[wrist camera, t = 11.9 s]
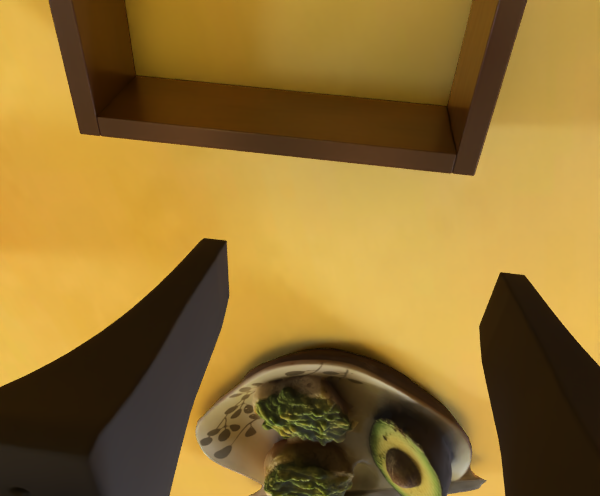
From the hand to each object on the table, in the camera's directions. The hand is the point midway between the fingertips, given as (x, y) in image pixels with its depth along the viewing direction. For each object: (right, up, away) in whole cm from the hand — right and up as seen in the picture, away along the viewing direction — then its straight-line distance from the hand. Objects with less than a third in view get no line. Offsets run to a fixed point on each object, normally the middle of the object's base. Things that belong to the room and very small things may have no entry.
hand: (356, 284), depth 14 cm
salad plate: (+1, -12, +23) cm, 26 cm away
